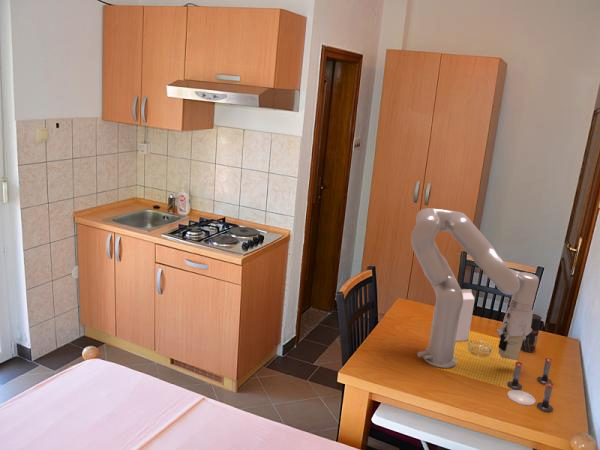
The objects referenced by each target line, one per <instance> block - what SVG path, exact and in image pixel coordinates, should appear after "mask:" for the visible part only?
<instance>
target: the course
mask: <svg viewBox="0 0 600 450" xmlns="http://www.w3.org/2000/svg"><path fill="white" fill-rule="evenodd" d="M552 363H553V359H551V358H550V357H545V359H544V366H543V370H542V375H541V376H538V377H536V381H537V382H538V383H540V384H542V385H545V389H544V394H543V397H542V398H543V399H542V401H541V402H537V403H536V408H537V409H538V410H540V411H541V412H546V413H552V412H554V407H553V406H552V405H550V402H551V396H552V391H553V388H554V383H553V382H552V380H551V379H549V376H550V371H551V367H552ZM514 366H515V367H514V371H513V375H512V376H513V377H512V381H510V380H509V381H507V383H506V385H507V386H508V387H509V388H510V389H512V390H520V391H522V390H523V385H522V384H521V383H520V376H521V372H522V371H521V370H522V367H523V363H522V362H519V361H515V364H514Z"/></svg>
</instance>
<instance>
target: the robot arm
mask: <svg viewBox="0 0 600 450" xmlns="http://www.w3.org/2000/svg"><path fill="white" fill-rule="evenodd" d="M415 223H416V224H415V225H414V228H413V229H412V231H411V235H410V244H411V247H412V250H413V252H414V254H415V256H416V258H417V261H418V262H419V265H420V267H421V268H422V271H423V274H424V276H425V278H426V279H427V280H428V281H429V283H430V284H431V286H432V289H433V290H434V293H435V298H436V299H435V305H434V309H433V315H432V321H431V322H432V323H431V330H430V335H429V336H430V337H429V343H428V347H425V350H423V351H417V352H416V354H417V357H418V358H421V357H422V359H423V360H424V361H425V362H426V363H427V364H429V365H431V366H433V367H437V368H443V369H451V368H454V367H455V366H456V365H457V361H458V360H457V359H456V357H455V356H454V354H455V348H456V342H457V341H456V335H457V329H458V322H459V317H460V312H461V309H462V305H463V293H462V290H463V289H462V288H461V287H460V283H459V282H458V280H457V279H456V276H455V274H454V272H453V271H452V268H451V267H450V264H449V262H448V261H447V259H446V257H445V256H444V255H443V254H442V253H441V251H440V249H439V247H438V245H437V243H436V241H435V240H436V238H435V237H436V235H437V234H438V232H446V233H449V234H450V235H451V236H452V237H453V238H454V239H455V241H456V242H457V243H458V244H459V245H460V246H461V247H462V249H463V250H464V251H465V252H466V254H468V256H469V257H470V258H471V259H472V261H473V262H474V263H475V265H477V266H478V267H479V269H481V270H482V271H483V273H484V274H485V275H486V276H487V277H488V278H489V280H490V281H491V282H492V283H493V285H495V286H496V288H497V289H498V290H499V291H500V292H501V293H502V294H504V295H507V296H511V299H510V302H509V306H508V308H507V310H506V313H505V314H504V318H503V320H502V321H503V322H502V323H501V326H500V327H498V328H497V329H496V332H497V334H498V337H499V339H500V340H499V344H498V349H499V348H500V349H501V350H503V351H506V347H507V343H508V342H507V340H508V338H509V337H510V336H523V333H524V331H525V335H524V339H523V342H522V346H521V350H520V351H522V347H523V343H524V340H526V337H527V336H528V335H529V334H530V332H531V331H532V328H531V324H532V315H533V314H534V313H533V306H534V302H535V298H536V295H537V290H538V287H539V283H540V278H539V277H538V276H537V275H535V274H534V273H532V272H531V273H530V272H524V271H518V270H514V269H512V268H510V267H509V266H508V265H507V264H506V263H505V261H504V260H503V259H502V258H501V257H500V255H499V253H498V252H497V251H496V249H495V248H494V246H493V245H492V244H491V242H490V241H488V239H487V238H486V236H485V235H484V234H483V233H482V232H481V231H480V230H479V229H478V227H477V226H476V225H475V224H474V223H473V222H472V220H471V219H470V218H469V217H468V216H467V215H466V214H465V213H463V212H462V211H456V210H449V209H439V208H432V207H430V208H429V207H427V208H423V209H420V210H419V211H418V212H417V214H416V215H415ZM505 334H507V335H506V337H505V336H504V335H505Z"/></svg>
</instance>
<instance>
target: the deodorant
mask: <svg viewBox="0 0 600 450" xmlns="http://www.w3.org/2000/svg"><path fill="white" fill-rule="evenodd" d="M541 321H542V317H541V316H540V315H539V314H536V313H533V315H532V324H531V328H532V331H531V332H530V334H529V335H528V336H527V337H526V340H524V343H523V347H522V350H521V351H522V352H524V353H530V354H534V353H535V352H536V347H537V342H538V337H539V332H540V326H541Z"/></svg>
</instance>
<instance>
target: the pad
mask: <svg viewBox="0 0 600 450" xmlns="http://www.w3.org/2000/svg"><path fill="white" fill-rule="evenodd" d="M507 397H508V398H509V400H511V401H512V402H514V403H516V404H519V405H523V406H533V405H535V404H536V398H535V397H534V396H533V395H532V394H530V393H529V392H526V391H524V390H515V389H512V390H511V389H510V390H509V391H507Z"/></svg>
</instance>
